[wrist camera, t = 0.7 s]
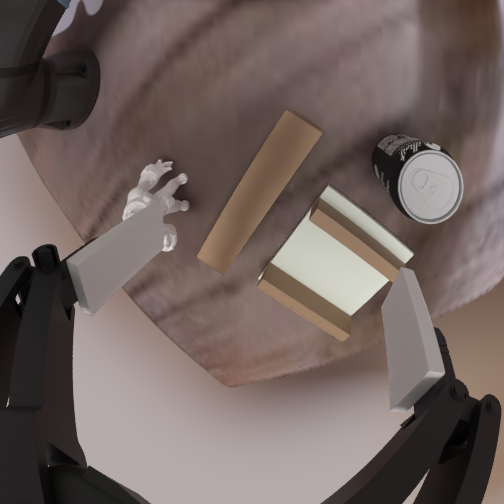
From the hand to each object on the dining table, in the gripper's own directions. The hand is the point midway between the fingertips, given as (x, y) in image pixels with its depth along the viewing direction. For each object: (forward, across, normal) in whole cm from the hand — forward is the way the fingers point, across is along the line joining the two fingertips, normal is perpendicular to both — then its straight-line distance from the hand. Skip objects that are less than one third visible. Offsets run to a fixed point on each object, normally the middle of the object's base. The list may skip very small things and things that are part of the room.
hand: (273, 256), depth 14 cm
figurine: (+20, -16, -5) cm, 26 cm away
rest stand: (+20, +6, -10) cm, 23 cm away
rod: (+20, -5, -3) cm, 21 cm away
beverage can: (+20, +10, +4) cm, 23 cm away
